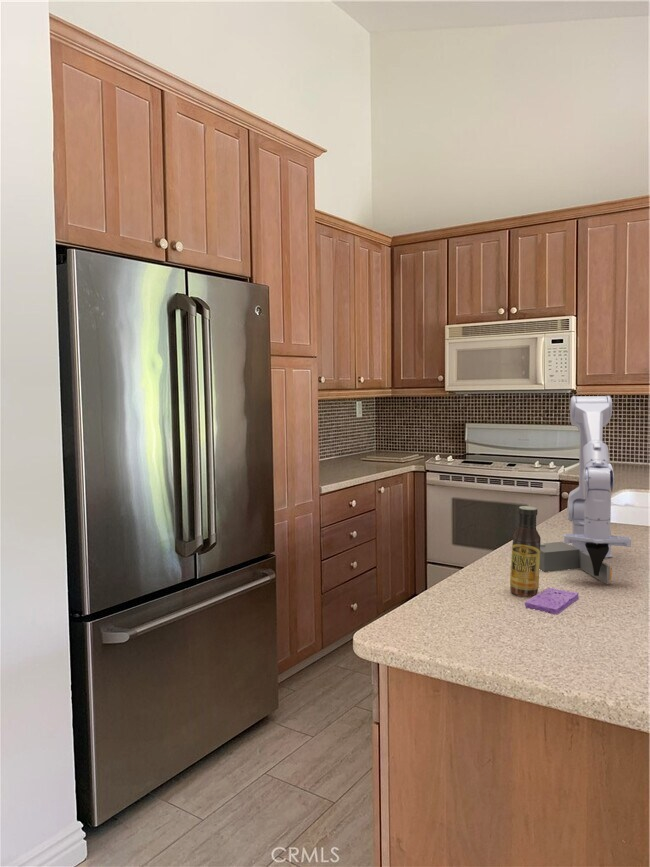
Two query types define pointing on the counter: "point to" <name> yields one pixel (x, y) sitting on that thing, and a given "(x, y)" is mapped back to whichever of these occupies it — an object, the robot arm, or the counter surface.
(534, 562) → the sauce bottle
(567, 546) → the camera body
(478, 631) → the counter surface
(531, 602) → the sponges
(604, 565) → the side door
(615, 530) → the counter surface
